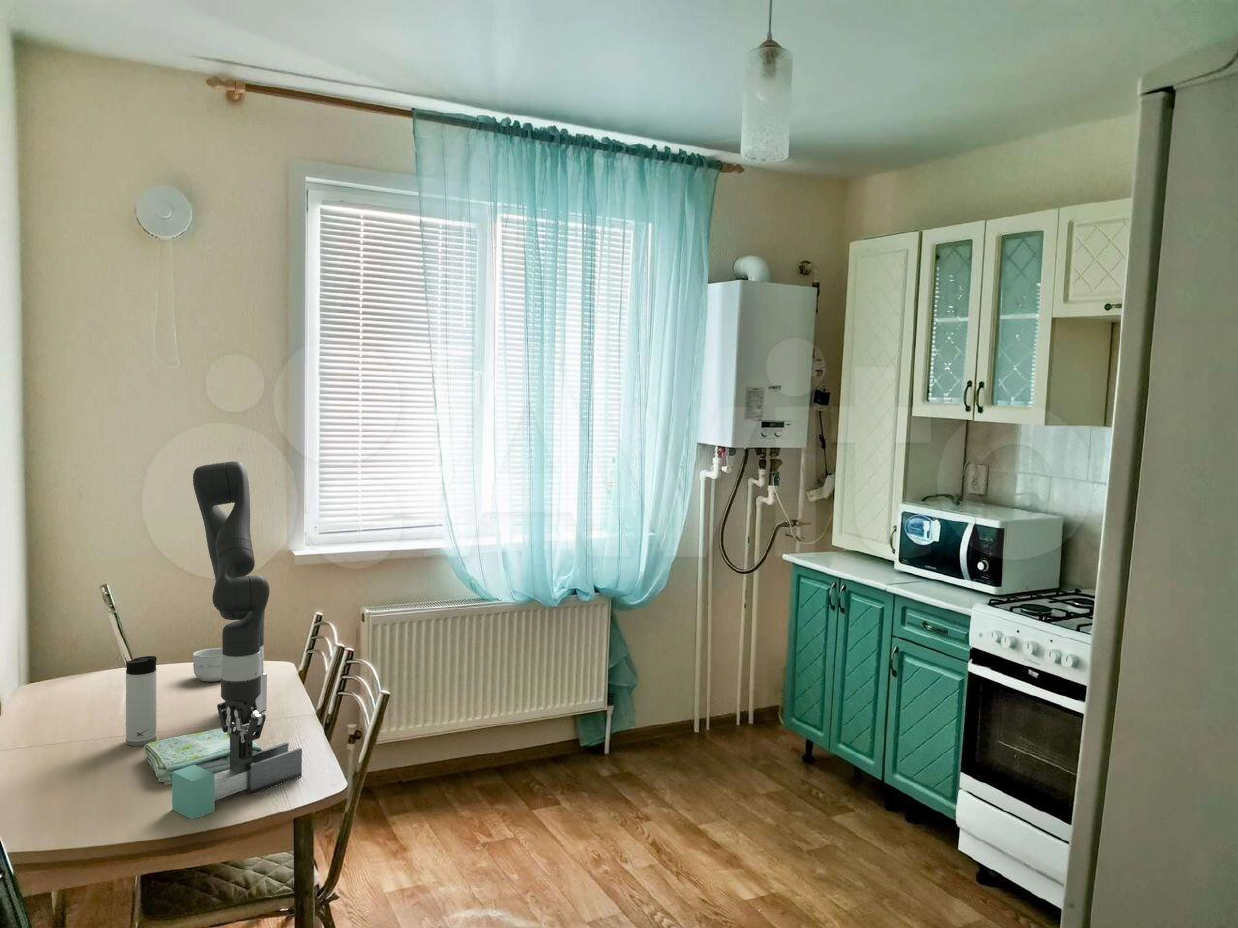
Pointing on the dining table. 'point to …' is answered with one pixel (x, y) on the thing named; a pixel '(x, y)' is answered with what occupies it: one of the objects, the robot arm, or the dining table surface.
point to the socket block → (193, 791)
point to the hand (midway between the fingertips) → (241, 755)
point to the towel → (191, 753)
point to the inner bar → (233, 771)
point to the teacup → (208, 664)
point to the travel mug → (141, 701)
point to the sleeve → (273, 767)
